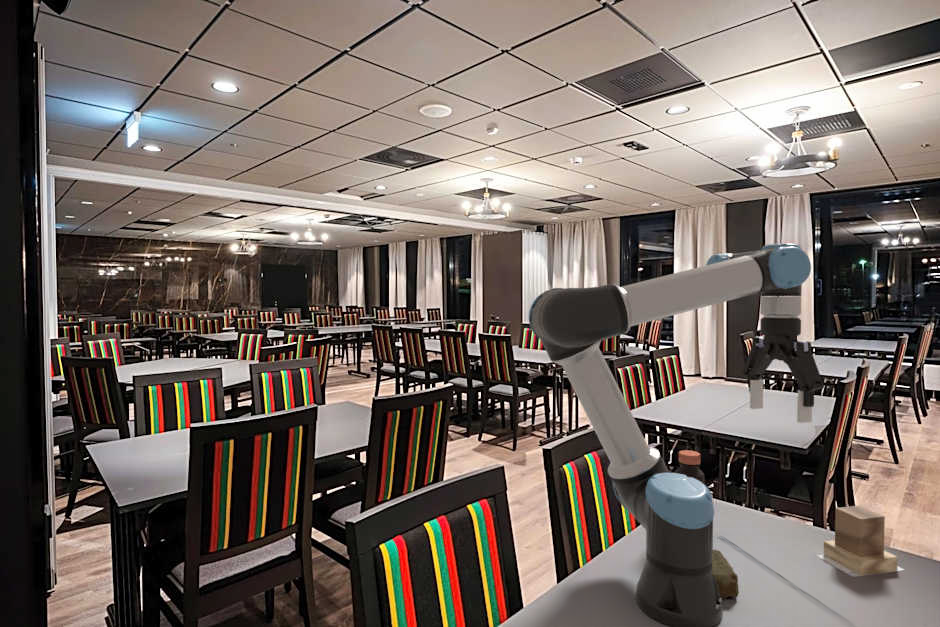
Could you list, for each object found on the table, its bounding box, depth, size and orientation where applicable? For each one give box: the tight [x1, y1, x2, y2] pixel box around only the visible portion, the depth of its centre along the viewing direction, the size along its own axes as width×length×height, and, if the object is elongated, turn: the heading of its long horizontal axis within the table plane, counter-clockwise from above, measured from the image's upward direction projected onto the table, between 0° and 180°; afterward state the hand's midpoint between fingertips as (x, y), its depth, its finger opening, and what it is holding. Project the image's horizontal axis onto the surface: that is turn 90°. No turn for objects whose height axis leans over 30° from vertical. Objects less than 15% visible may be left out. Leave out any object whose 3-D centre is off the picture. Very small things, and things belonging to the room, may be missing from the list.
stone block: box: [712, 549, 740, 599], centre depth 108 cm, size 6×12×5 cm, turn 173°
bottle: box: [674, 449, 705, 485], centre depth 130 cm, size 7×7×20 cm
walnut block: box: [834, 505, 886, 557], centre depth 114 cm, size 6×6×8 cm
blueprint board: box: [816, 554, 905, 578], centre depth 114 cm, size 13×9×1 cm
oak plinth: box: [823, 539, 898, 577], centre depth 114 cm, size 9×9×3 cm
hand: (779, 415), depth 115 cm, fingers open, 13 cm apart
